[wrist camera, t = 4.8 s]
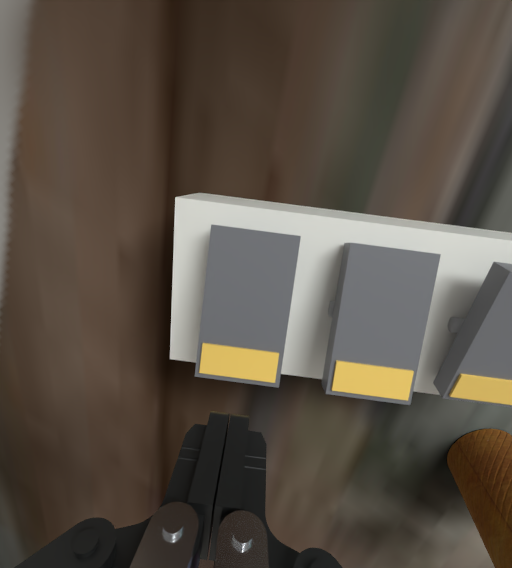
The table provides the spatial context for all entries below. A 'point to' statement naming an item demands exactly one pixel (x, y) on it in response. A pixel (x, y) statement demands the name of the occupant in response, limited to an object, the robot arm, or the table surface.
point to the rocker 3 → (483, 346)
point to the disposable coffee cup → (487, 487)
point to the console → (329, 272)
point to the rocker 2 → (379, 322)
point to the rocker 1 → (246, 305)
